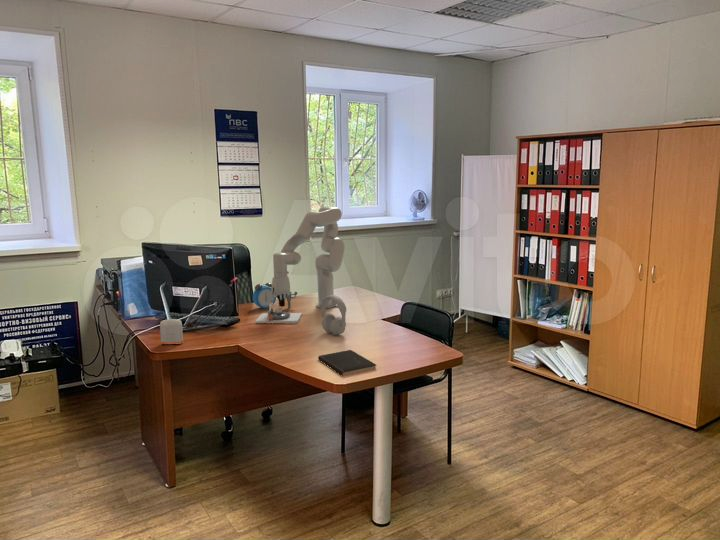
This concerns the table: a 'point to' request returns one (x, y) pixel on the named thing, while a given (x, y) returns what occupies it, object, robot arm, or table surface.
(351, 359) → the hardcover book
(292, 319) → the base plate
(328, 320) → the headphones
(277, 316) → the flange
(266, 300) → the alarm clock
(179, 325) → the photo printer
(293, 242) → the robot arm
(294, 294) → the mechanical component
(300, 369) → the table surface
